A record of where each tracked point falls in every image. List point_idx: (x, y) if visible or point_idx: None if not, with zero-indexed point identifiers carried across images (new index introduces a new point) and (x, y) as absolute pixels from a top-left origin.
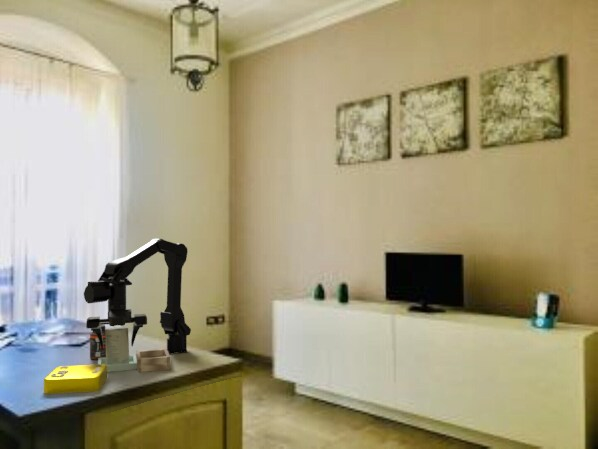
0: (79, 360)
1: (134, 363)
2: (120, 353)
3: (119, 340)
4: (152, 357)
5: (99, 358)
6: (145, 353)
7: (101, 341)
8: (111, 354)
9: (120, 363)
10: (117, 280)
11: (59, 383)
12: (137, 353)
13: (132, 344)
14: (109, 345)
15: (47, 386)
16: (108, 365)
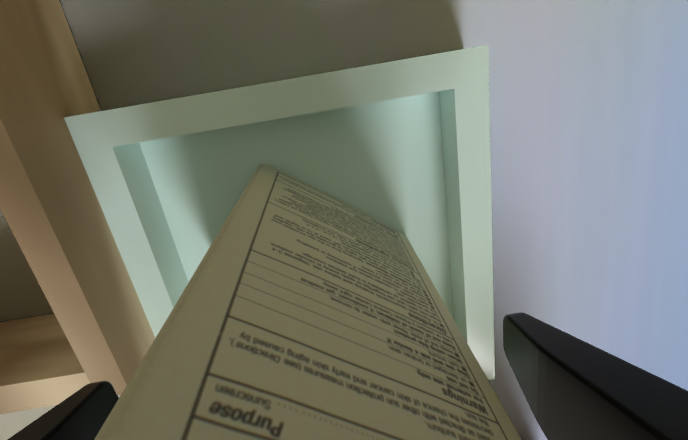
0: None
1: (94, 114)
2: (244, 207)
3: (203, 325)
4: (7, 343)
5: (485, 359)
6: (38, 363)
7: (602, 373)
8: (372, 259)
9: (265, 174)
10: None
11: None
12: (72, 293)
13: (76, 396)
14: (423, 340)
15: None
16: (372, 75)
